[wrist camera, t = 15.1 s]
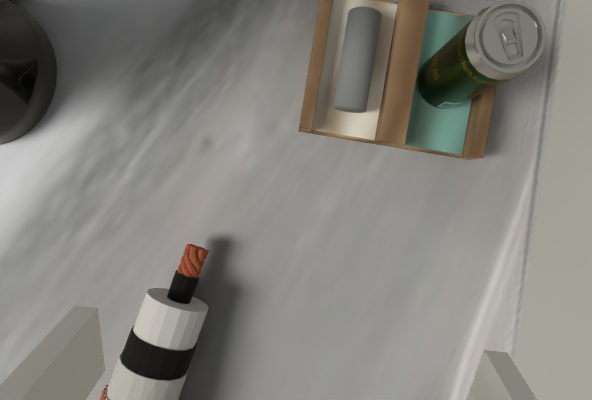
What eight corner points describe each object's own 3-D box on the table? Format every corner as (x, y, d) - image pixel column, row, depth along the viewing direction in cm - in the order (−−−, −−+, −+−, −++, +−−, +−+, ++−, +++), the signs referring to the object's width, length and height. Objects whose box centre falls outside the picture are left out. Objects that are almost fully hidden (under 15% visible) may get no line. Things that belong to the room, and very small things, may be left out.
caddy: (298, 131, 39) (299, 126, 36) (320, -5, 38) (323, -21, 35) (469, 159, 39) (483, 157, 36) (493, 24, 39) (510, 11, 36)
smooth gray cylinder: (363, 114, 38) (368, 107, 35) (331, 109, 38) (334, 102, 35) (378, 24, 38) (385, 9, 34) (346, 19, 38) (350, 4, 34)
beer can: (473, 102, 38) (557, 64, 26) (422, 116, 38) (482, 85, 26) (460, 50, 38) (539, -13, 26) (409, 64, 38) (463, 8, 26)
